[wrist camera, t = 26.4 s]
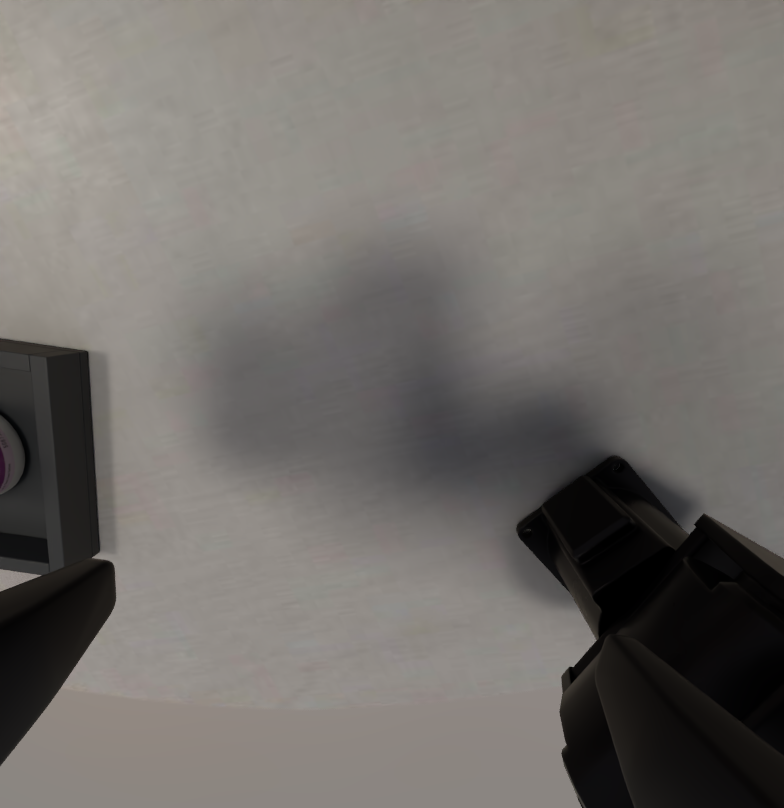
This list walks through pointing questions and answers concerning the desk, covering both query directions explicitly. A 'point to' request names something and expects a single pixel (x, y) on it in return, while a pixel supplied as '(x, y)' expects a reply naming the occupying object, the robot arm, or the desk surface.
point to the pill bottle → (10, 456)
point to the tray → (48, 459)
